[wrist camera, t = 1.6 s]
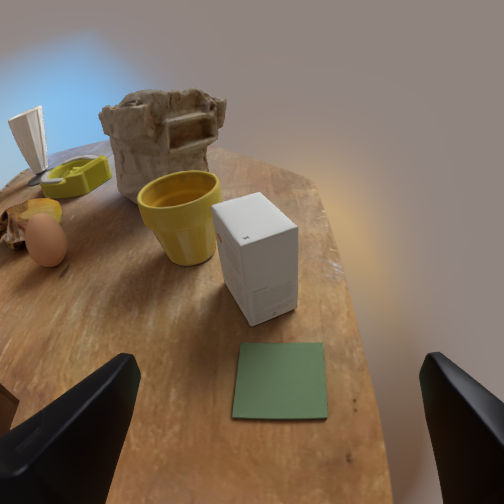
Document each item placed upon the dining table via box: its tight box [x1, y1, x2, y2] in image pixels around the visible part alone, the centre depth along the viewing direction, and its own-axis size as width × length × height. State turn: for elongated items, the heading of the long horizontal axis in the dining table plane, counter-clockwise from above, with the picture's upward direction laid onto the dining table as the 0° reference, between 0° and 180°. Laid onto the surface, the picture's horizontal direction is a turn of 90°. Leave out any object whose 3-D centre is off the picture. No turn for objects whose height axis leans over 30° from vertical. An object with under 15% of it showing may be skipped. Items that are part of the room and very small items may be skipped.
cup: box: [8, 106, 54, 186], centre depth 71 cm, size 12×12×22 cm
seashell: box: [0, 198, 63, 250], centre depth 49 cm, size 17×8×15 cm
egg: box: [25, 213, 67, 267], centre depth 40 cm, size 7×7×9 cm
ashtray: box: [40, 155, 112, 199], centre depth 67 cm, size 16×21×5 cm
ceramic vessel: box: [99, 88, 227, 204], centre depth 53 cm, size 23×24×25 cm
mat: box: [232, 342, 328, 420], centre depth 26 cm, size 8×8×1 cm
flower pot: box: [137, 170, 222, 266], centre depth 40 cm, size 10×10×10 cm
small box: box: [211, 192, 298, 327], centre depth 32 cm, size 8×6×10 cm
